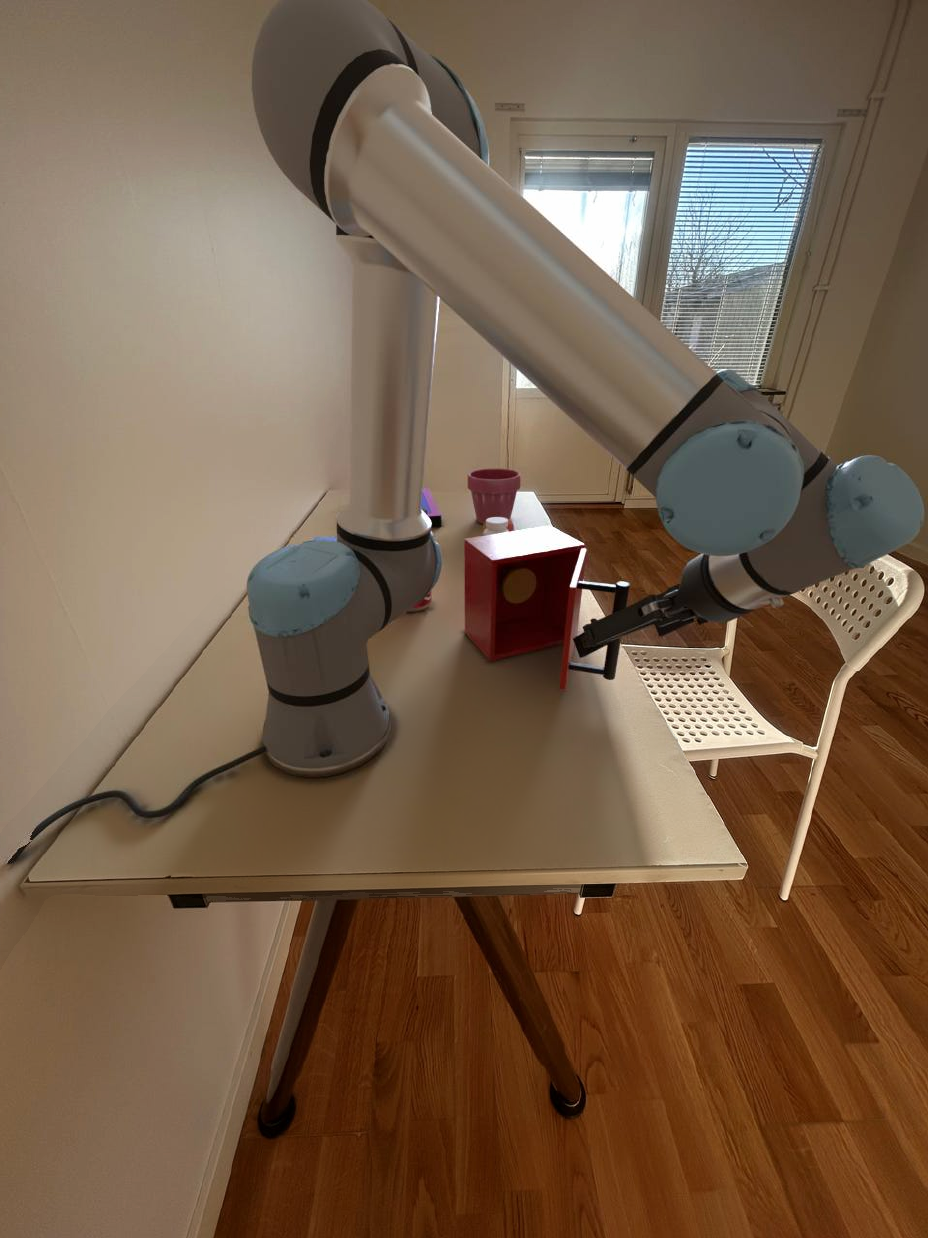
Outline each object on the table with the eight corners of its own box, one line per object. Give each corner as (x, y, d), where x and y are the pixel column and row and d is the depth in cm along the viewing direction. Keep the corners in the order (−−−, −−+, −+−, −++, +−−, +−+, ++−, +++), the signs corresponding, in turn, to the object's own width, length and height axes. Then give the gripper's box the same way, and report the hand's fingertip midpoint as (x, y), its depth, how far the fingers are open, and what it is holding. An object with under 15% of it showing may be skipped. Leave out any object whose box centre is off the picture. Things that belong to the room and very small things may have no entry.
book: (360, 520, 132) (360, 491, 158) (361, 531, 134) (361, 500, 160) (441, 515, 135) (427, 487, 161) (441, 526, 137) (428, 497, 163)
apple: (485, 552, 120) (485, 518, 116) (480, 541, 126) (480, 509, 122) (516, 550, 121) (517, 517, 117) (509, 540, 127) (510, 508, 123)
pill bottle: (489, 570, 110) (490, 525, 106) (478, 561, 115) (478, 517, 110) (513, 566, 112) (515, 521, 108) (501, 557, 117) (502, 514, 112)
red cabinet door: (617, 645, 81) (631, 552, 73) (612, 698, 69) (629, 593, 62) (571, 639, 83) (581, 547, 75) (559, 689, 71) (569, 586, 63)
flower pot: (464, 513, 147) (464, 468, 141) (513, 511, 148) (515, 466, 142) (471, 529, 134) (471, 480, 128) (523, 527, 136) (526, 478, 130)
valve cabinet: (574, 640, 84) (585, 544, 76) (490, 661, 79) (492, 560, 71) (543, 615, 92) (550, 525, 84) (464, 632, 87) (464, 538, 79)
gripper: (652, 637, 46) (551, 685, 65) (836, 589, 55) (698, 643, 74) (622, 562, 48) (532, 630, 67) (805, 526, 56) (678, 596, 76)
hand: (619, 637), depth 71 cm, fingers open, 13 cm apart
